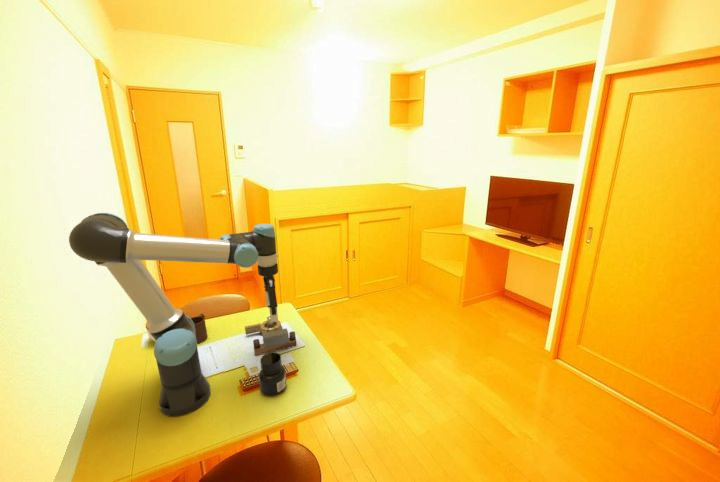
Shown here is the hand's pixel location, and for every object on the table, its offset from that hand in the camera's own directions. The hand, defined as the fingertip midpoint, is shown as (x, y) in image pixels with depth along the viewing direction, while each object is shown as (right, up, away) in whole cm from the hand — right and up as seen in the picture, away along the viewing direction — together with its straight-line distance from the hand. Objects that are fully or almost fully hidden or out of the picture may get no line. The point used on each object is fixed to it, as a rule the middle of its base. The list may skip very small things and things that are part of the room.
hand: (272, 313), depth 131 cm
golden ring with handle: (-8, -11, +16) cm, 21 cm away
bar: (+1, -13, +4) cm, 14 cm away
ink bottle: (+5, -22, -18) cm, 29 cm away
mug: (-36, -14, +14) cm, 41 cm away
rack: (0, -16, +5) cm, 16 cm away
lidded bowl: (-50, -14, +12) cm, 54 cm away
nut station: (-5, -12, +17) cm, 22 cm away
